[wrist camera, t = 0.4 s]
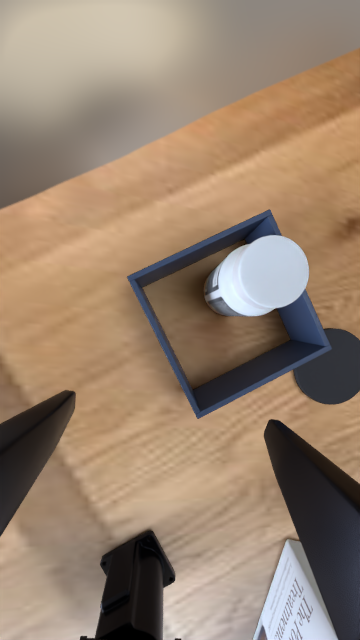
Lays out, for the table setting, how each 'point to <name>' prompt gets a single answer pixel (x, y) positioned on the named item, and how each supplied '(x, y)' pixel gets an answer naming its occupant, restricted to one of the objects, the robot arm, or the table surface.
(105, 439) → the table surface
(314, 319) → the open box
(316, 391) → the coaster
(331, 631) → the skincare box
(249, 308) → the pill bottle
